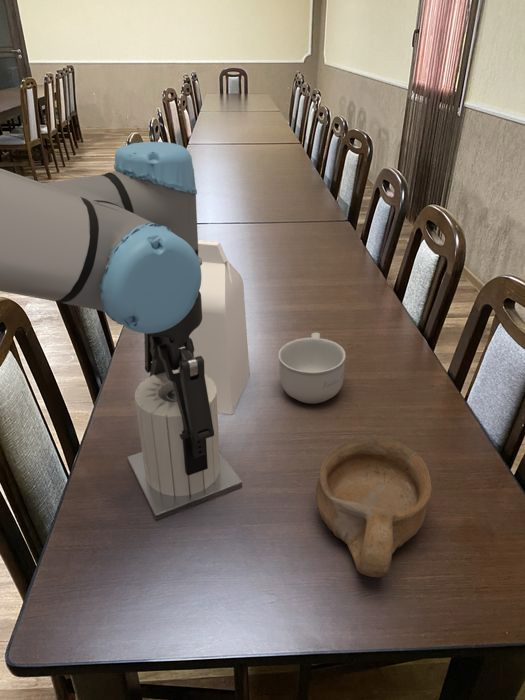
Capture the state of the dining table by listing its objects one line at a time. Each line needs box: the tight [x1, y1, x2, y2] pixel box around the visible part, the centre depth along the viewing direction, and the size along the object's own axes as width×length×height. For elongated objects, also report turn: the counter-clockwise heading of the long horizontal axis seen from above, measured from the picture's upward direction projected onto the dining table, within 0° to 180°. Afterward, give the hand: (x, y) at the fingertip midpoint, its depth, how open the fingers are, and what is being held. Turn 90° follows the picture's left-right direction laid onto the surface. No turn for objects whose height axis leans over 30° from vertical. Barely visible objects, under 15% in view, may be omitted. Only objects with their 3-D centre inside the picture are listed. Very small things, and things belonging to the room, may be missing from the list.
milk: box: [189, 240, 251, 416], centre depth 84 cm, size 12×12×26 cm
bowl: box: [315, 436, 433, 578], centre depth 63 cm, size 18×14×10 cm
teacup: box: [277, 332, 347, 405], centre depth 90 cm, size 14×11×8 cm
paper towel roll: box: [134, 370, 220, 496], centre depth 70 cm, size 10×10×13 cm
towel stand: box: [126, 390, 243, 522], centre depth 70 cm, size 12×12×14 cm
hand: (180, 445), depth 71 cm, fingers closed on paper towel roll, 10 cm apart
